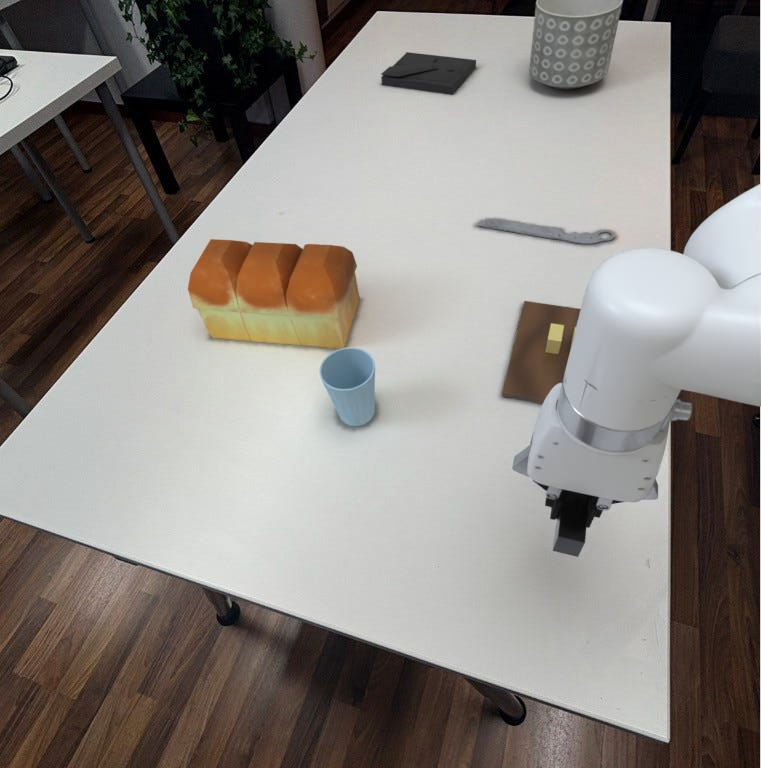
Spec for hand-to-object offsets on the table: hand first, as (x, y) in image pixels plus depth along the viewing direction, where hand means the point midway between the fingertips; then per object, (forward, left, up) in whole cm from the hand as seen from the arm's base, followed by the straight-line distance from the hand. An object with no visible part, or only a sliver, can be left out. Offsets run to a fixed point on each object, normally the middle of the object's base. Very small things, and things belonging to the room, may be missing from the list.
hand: (570, 509), depth 56 cm
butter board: (+1, -33, -15) cm, 37 cm away
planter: (+13, -125, -15) cm, 127 cm away
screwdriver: (0, -5, -1) cm, 5 cm away
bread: (+50, -31, -15) cm, 61 cm away
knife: (+10, -64, -15) cm, 67 cm away
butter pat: (+4, -34, -14) cm, 37 cm away
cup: (+31, -15, -15) cm, 38 cm away
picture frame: (+49, -125, -15) cm, 135 cm away
